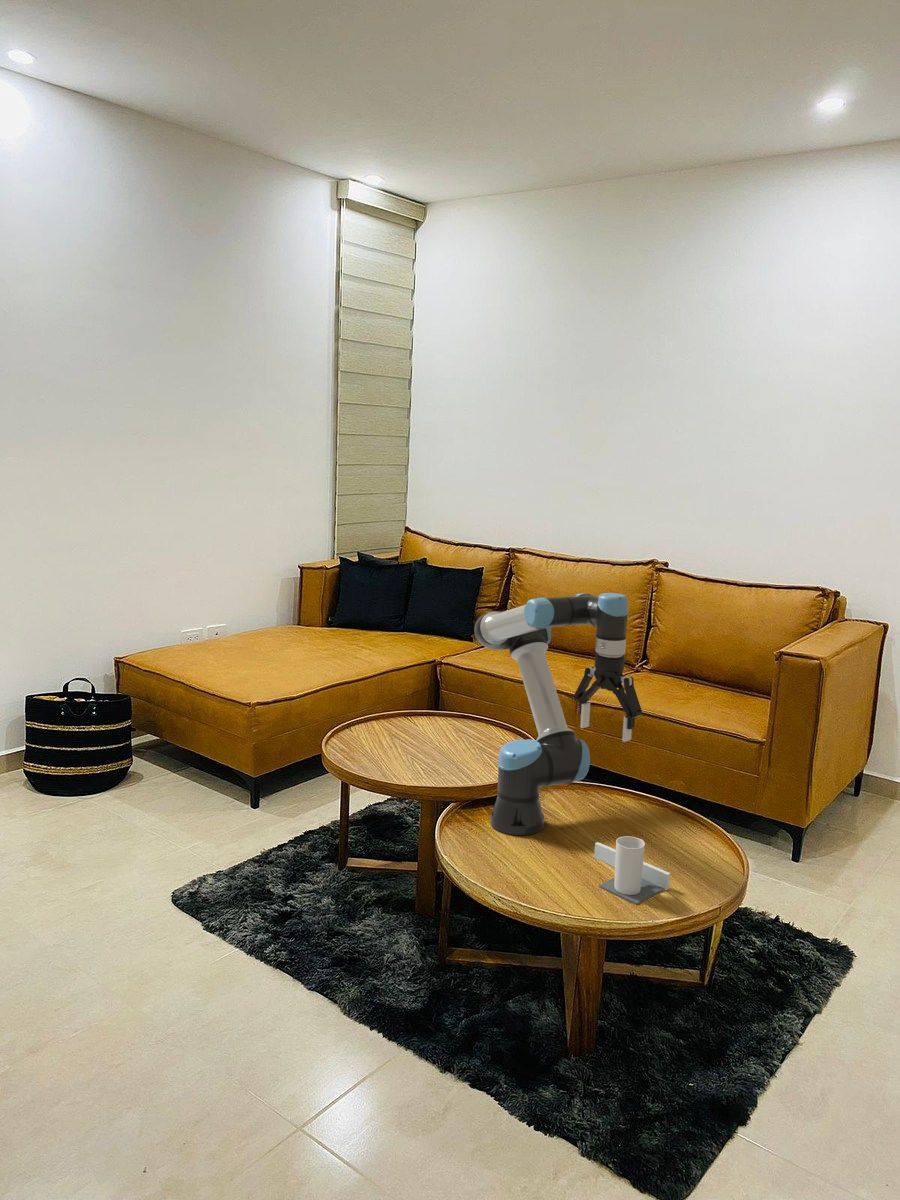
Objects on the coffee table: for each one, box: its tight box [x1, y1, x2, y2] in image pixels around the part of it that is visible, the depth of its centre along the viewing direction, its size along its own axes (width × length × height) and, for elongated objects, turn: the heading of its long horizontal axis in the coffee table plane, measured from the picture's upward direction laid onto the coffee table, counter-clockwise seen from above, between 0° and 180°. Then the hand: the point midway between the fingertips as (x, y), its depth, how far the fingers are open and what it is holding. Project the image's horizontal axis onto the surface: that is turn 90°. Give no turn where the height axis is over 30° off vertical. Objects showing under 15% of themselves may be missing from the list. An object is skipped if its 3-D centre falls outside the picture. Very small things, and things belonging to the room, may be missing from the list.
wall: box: [593, 841, 671, 891], centre depth 224 cm, size 22×1×4 cm, turn 43°
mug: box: [614, 835, 646, 895], centre depth 215 cm, size 10×7×12 cm, turn 137°
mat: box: [598, 877, 665, 906], centre depth 216 cm, size 11×11×1 cm
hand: (605, 733), depth 232 cm, fingers open, 13 cm apart
